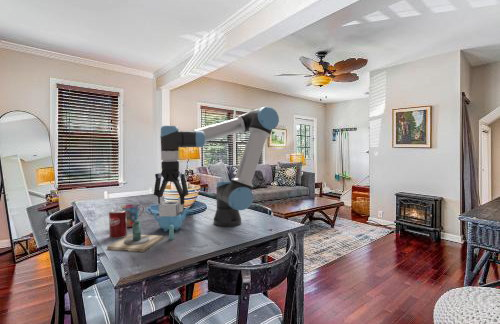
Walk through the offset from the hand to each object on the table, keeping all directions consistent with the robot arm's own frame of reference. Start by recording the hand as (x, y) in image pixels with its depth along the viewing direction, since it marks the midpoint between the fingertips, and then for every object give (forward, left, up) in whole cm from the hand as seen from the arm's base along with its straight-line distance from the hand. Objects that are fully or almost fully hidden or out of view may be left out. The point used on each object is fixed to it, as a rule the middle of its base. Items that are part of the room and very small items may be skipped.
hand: (171, 211), depth 121 cm
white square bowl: (0, 0, -1) cm, 1 cm away
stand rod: (0, 0, -13) cm, 13 cm away
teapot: (+7, -15, -13) cm, 21 cm away
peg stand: (+12, +8, -13) cm, 19 cm away
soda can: (+26, +1, -13) cm, 29 cm away
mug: (+30, -17, -13) cm, 37 cm away
